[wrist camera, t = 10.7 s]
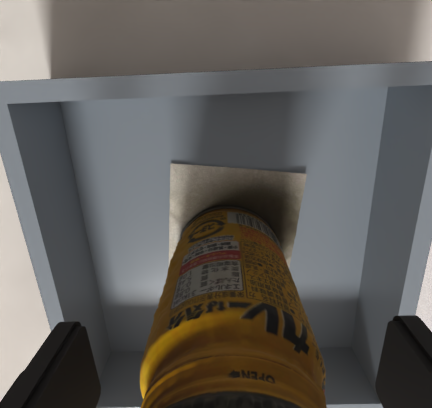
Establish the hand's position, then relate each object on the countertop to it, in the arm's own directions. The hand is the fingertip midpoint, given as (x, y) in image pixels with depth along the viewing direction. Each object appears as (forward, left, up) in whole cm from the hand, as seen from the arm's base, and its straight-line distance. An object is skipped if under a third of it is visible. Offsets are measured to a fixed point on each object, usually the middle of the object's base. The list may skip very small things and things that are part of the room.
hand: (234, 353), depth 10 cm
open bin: (+1, 0, -10) cm, 10 cm away
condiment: (0, 0, -9) cm, 9 cm away
